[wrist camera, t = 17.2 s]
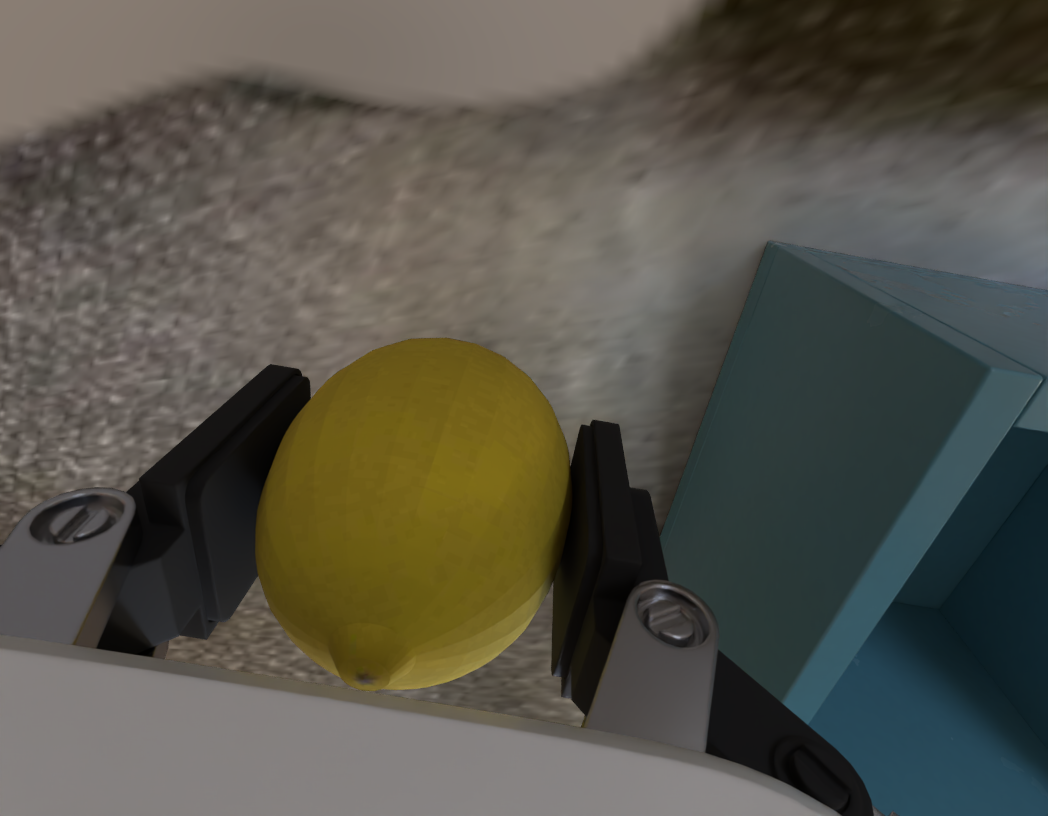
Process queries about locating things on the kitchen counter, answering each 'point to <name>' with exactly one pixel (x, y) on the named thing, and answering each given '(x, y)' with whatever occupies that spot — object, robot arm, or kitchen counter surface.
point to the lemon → (414, 514)
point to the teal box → (884, 522)
